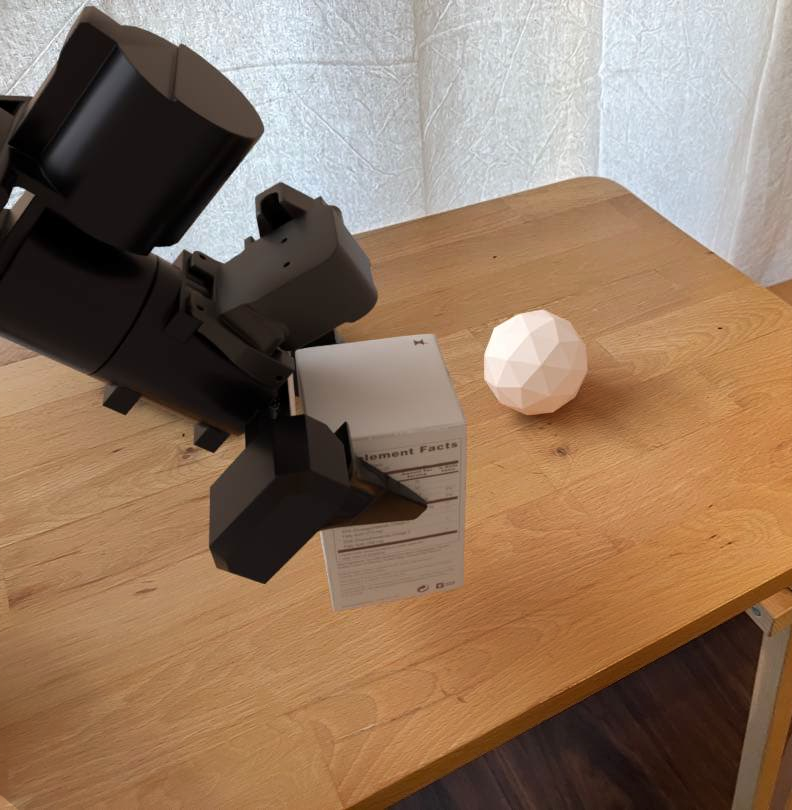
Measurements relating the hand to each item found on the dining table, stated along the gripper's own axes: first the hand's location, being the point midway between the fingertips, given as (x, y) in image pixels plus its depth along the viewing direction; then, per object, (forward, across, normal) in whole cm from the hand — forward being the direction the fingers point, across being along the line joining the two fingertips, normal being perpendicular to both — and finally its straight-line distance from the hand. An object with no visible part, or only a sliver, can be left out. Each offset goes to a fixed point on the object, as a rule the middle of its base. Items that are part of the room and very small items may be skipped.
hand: (409, 458), depth 46 cm
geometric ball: (+17, +17, +1) cm, 24 cm away
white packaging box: (+4, 0, +6) cm, 8 cm away
